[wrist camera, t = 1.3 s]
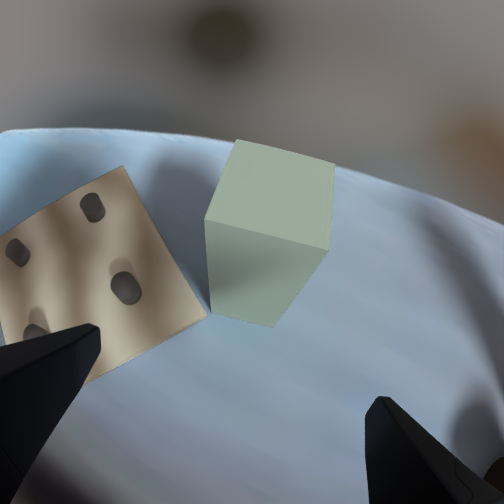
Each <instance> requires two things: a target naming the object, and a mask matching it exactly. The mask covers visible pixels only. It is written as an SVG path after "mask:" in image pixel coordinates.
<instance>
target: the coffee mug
mask: <svg viewBox="0 0 504 504" xmlns="http://www.w3.org/2000/svg"><path fill="white" fill-rule="evenodd" d="M484 481H486V482H487V483H489V484H490V485H491V486H493V487H494V488H496V489H497V490H498V491H500V492H501V493H503V494H504V457H502V458H499V459H498V460H497V461H496V462H495V463H494V464H493V465H492V466H491V467H490V469H489V470H488V472H487V474H486V475H485V478H484Z"/></svg>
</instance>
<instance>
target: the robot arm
mask: <svg viewBox="0 0 504 504" xmlns="http://www.w3.org/2000/svg"><path fill="white" fill-rule="evenodd" d="M100 352H101V331H100V328H99V327H98V326H96V325H93V324H91V323H86V324H82V325H79V326H75V327H71V328H68V329H64V330H60V331H57V332H53V333H50V334H46V335H42V336H38V337H35V338H31V339H27V340H23V341H20V342H16V343H12V344H8V345H4V346H0V504H10V503H11V501H12V499H13V497H14V495H15V494H16V492H17V490H18V488H19V486H20V485H21V483H22V481H23V479H24V477H25V476H26V474H27V472H28V470H29V469H30V467H31V465H32V464H33V462H34V460H35V459H36V457H37V455H38V454H39V452H40V451H41V449H42V447H43V446H44V444H45V443H46V441H47V439H48V438H49V436H50V435H51V433H52V431H53V430H54V428H55V427H56V425H57V424H58V422H59V421H60V419H61V418H62V416H63V415H64V413H65V412H66V410H67V409H68V407H69V406H70V404H71V403H72V401H73V400H74V398H75V397H76V395H77V394H78V392H79V391H80V389H81V388H82V386H83V384H84V382H85V380H86V379H87V377H88V375H89V373H90V371H91V369H92V367H93V365H94V364H95V362H96V360H97V358H98V356H99V354H100ZM365 460H366V471H367V481H368V493H369V504H504V494H503V493H501V492H500V491H498V490H497V489H496V488H494V487H493V486H491V485H490V484H489V483H487V482H486V481H484V480H483V479H482V478H480V477H479V476H478V475H476V474H475V473H474V472H472V471H471V470H470V469H469V468H468V467H466V466H465V465H464V464H463V463H462V462H461V461H460V460H459V459H457V458H455V456H454V455H453V454H452V453H451V452H450V451H448V450H447V449H446V448H445V447H444V446H443V445H442V444H441V443H440V442H438V441H437V440H436V439H435V438H434V437H433V436H432V435H431V434H430V433H428V432H427V431H426V430H425V429H424V428H423V427H422V426H421V425H420V424H419V423H417V422H416V421H415V420H414V419H413V418H412V417H411V416H410V415H409V414H408V413H407V412H405V411H404V410H403V409H402V408H401V407H400V406H399V405H398V404H397V403H396V402H395V401H393V400H392V399H391V398H390V397H385V396H379V397H377V398H376V399H375V401H374V402H373V404H372V405H371V407H370V408H369V410H368V411H367V413H366V415H365Z"/></svg>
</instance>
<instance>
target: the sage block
mask: <svg viewBox="0 0 504 504" xmlns="http://www.w3.org/2000/svg"><path fill="white" fill-rule="evenodd" d="M334 179H335V164H333V163H330V162H326V161H323V160H319V159H316V158H312V157H308V156H305V155H301V154H298V153H294V152H290V151H286V150H282V149H278V148H274V147H269V146H265V145H261V144H257V143H252V142H247V141H243V140H238V139H237V140H236V142H235V144H234V146H233V149H232V151H231V153H230V156H229V158H228V160H227V163H226V165H225V168H224V170H223V172H222V175H221V177H220V180H219V182H218V185H217V187H216V190H215V192H214V195H213V197H212V200H211V202H210V205H209V208H208V210H207V213H206V215H205V218H204V227H205V242H206V256H207V269H208V281H209V293H210V304H211V313H215V314H218V315H222V316H226V317H230V318H234V319H238V320H242V321H246V322H250V323H254V324H258V325H262V326H267V327H271V328H273V327H274V326H275V325H276V323H277V322H278V321H279V319H280V318H281V317H282V315H283V314H284V313H285V311H286V310H287V309H288V307H289V306H290V305H291V303H292V302H293V300H294V299H295V298H296V296H297V295H298V294H299V292H300V291H301V289H302V288H303V287H304V285H305V284H306V282H307V281H308V280H309V278H310V277H311V275H312V274H313V273H314V271H315V270H316V268H317V267H318V265H319V264H320V263H321V261H322V260H323V258H324V257H325V255H326V254H327V252H328V251H329V244H330V233H331V222H332V209H333V195H334Z"/></svg>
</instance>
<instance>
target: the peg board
mask: <svg viewBox="0 0 504 504" xmlns="http://www.w3.org/2000/svg"><path fill="white" fill-rule="evenodd" d="M206 317H207V313H206V312H205V310H204V308H203V307H202V305H201V304H200V302H199V300H198V299H197V297H196V296H195V294H194V292H193V291H192V289H191V287H190V286H189V284H188V282H187V281H186V279H185V277H184V276H183V274H182V272H181V271H180V269H179V267H178V266H177V264H176V262H175V261H174V259H173V257H172V255H171V254H170V252H169V250H168V248H167V247H166V245H165V243H164V241H163V240H162V238H161V236H160V234H159V233H158V231H157V229H156V227H155V225H154V223H153V222H152V220H151V218H150V216H149V214H148V212H147V211H146V209H145V207H144V205H143V203H142V201H141V199H140V197H139V196H138V194H137V192H136V190H135V188H134V186H133V184H132V182H131V180H130V178H129V176H128V174H127V172H126V170H125V168H124V166H121V167H119V168H117V169H115V170H113V171H111V172H109V173H107V174H105V175H103V176H101V177H99V178H97V179H95V180H93V181H91V182H89V183H87V184H85V185H84V186H82V187H80V188H78V189H76V190H74V191H73V192H71V193H69V194H67V195H65V196H64V197H62V198H60V199H58V200H57V201H55V202H53V203H52V204H50V205H48V206H47V207H45V208H43V209H42V210H40V211H38V212H37V213H35V214H34V215H32V216H30V217H29V218H27V219H26V220H24V221H23V222H21V223H20V224H18V225H17V226H15V227H14V228H12V229H11V230H9V231H8V232H6V233H5V234H4V235H2V236H1V237H0V321H1V325H2V330H3V334H4V338H5V342H6V345H8V344H12V343H16V342H20V341H23V340H27V339H31V338H35V337H38V336H42V335H46V334H50V333H53V332H57V331H60V330H64V329H68V328H71V327H75V326H79V325H82V324H86V323H91V324H93V325H96V326H98V327H99V328H100V331H101V352H100V354H99V356H98V358H97V360H96V362H95V364H94V365H93V367H92V369H91V371H90V373H89V375H88V377H87V379H86V380H85V382H84V384H83V385H85V384H86V383H88V382H90V381H92V380H94V379H96V378H98V377H100V376H102V375H104V374H105V373H107V372H109V371H111V370H113V369H115V368H117V367H118V366H120V365H122V364H124V363H126V362H128V361H130V360H131V359H133V358H135V357H137V356H139V355H140V354H142V353H144V352H146V351H148V350H150V349H151V348H153V347H155V346H157V345H158V344H160V343H162V342H164V341H166V340H167V339H169V338H171V337H173V336H174V335H176V334H178V333H180V332H181V331H183V330H185V329H187V328H188V327H190V326H192V325H194V324H195V323H197V322H199V321H201V320H202V319H204V318H206Z"/></svg>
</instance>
